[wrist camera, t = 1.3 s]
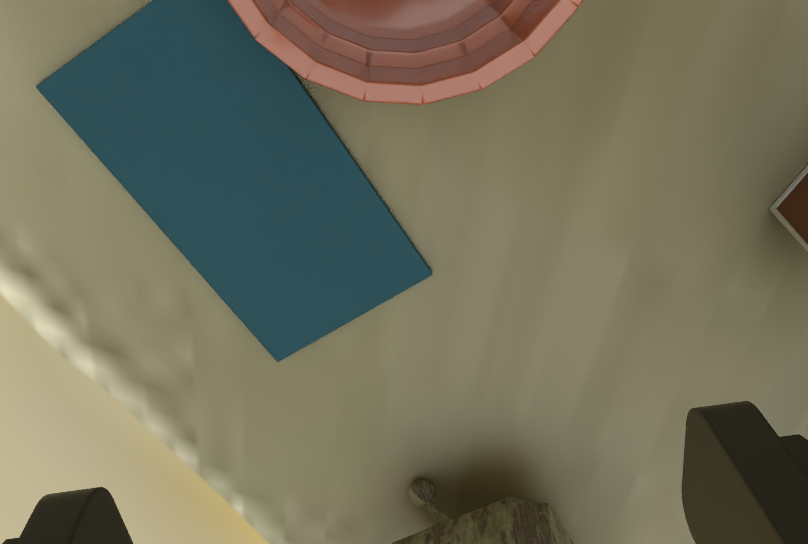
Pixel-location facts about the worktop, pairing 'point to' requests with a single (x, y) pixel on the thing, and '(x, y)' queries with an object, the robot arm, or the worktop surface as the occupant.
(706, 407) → the robot arm
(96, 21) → the worktop surface
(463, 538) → the tabletop clock
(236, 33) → the towel
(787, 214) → the food container
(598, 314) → the worktop surface
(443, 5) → the pot
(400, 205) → the worktop surface
